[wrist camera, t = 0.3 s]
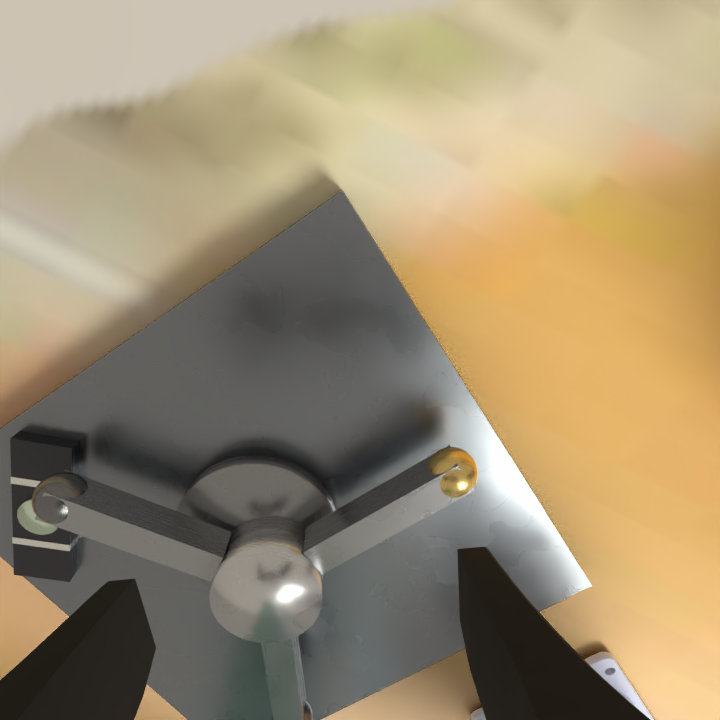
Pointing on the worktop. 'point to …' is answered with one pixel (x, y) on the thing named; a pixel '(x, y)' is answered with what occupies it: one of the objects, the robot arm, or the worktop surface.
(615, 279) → the worktop surface
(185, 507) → the capstan
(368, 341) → the plate
